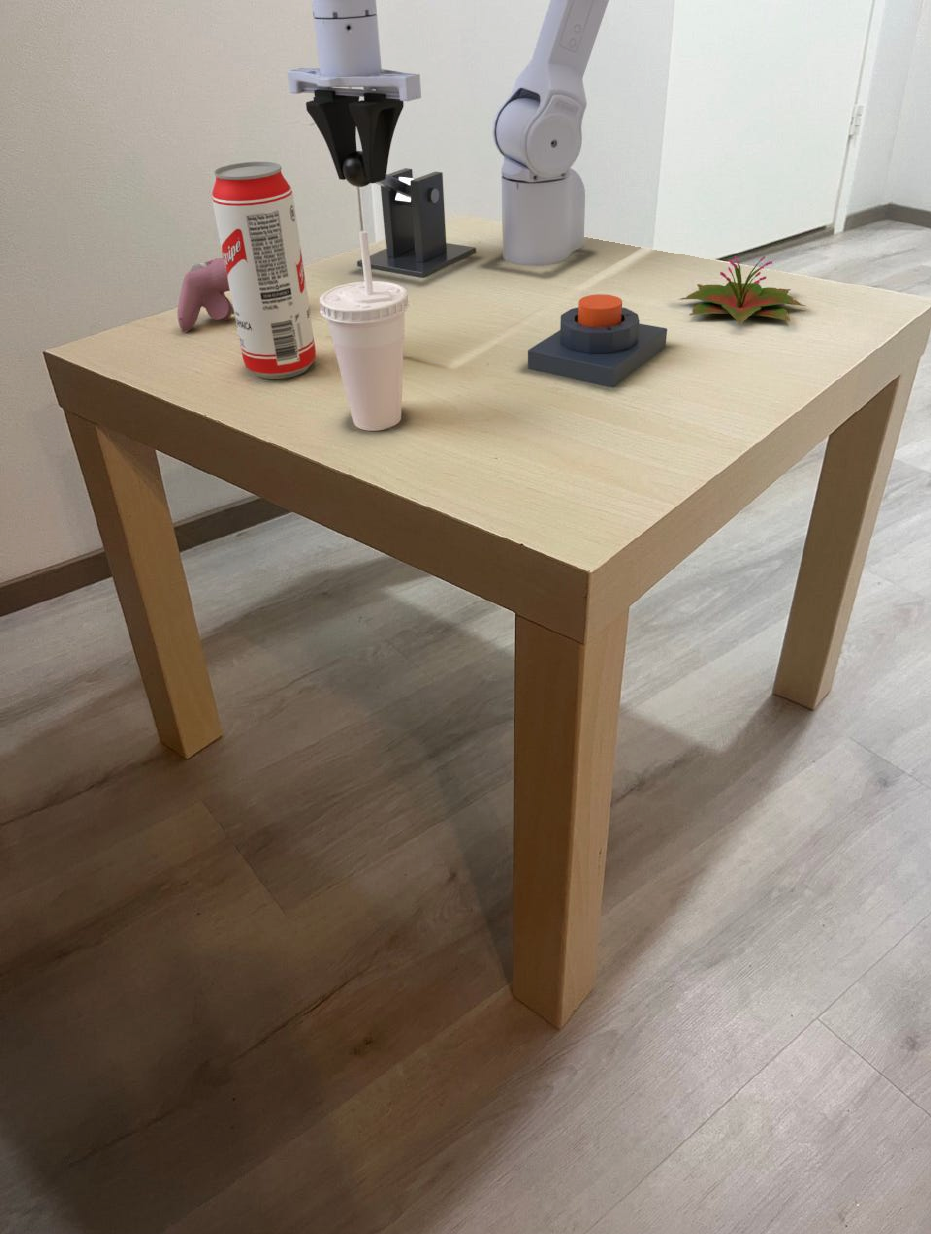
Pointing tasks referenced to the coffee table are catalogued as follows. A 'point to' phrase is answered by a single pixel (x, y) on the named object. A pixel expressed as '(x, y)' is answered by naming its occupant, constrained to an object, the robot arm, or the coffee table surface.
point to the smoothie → (369, 344)
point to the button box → (597, 349)
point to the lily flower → (742, 297)
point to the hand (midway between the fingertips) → (362, 179)
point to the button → (599, 310)
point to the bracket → (416, 230)
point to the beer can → (264, 268)
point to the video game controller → (204, 293)
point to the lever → (357, 177)
